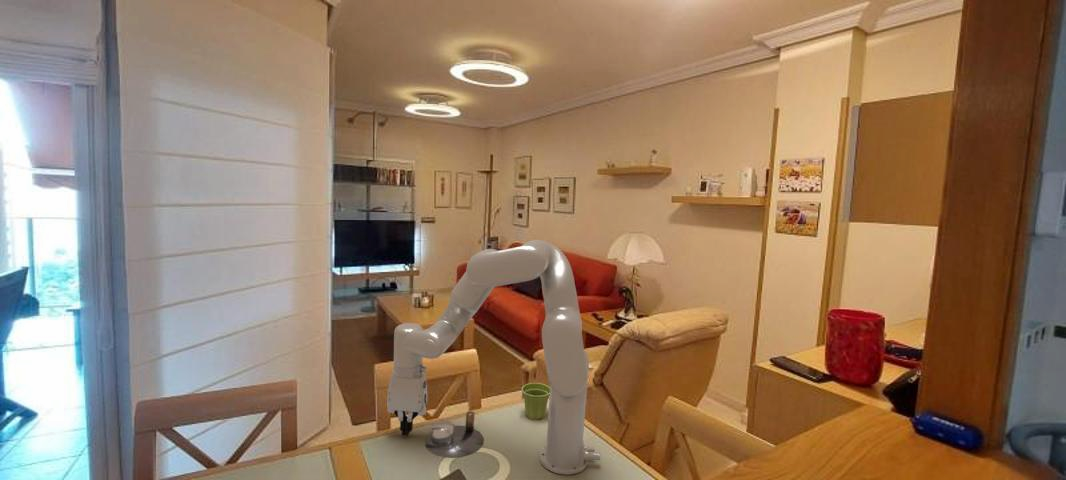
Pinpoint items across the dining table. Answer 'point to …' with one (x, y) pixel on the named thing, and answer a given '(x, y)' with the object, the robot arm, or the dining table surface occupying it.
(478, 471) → the dining table surface
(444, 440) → the cover
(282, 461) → the dining table surface
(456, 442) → the turntable
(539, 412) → the plant pot
